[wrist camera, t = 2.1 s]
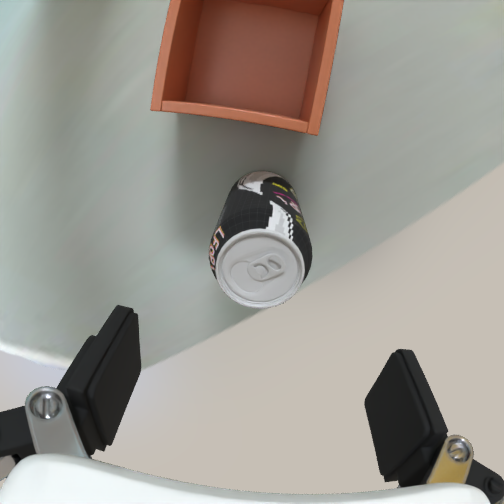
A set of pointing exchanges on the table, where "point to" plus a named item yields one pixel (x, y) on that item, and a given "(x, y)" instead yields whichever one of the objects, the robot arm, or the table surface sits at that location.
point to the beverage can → (260, 242)
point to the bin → (248, 60)
